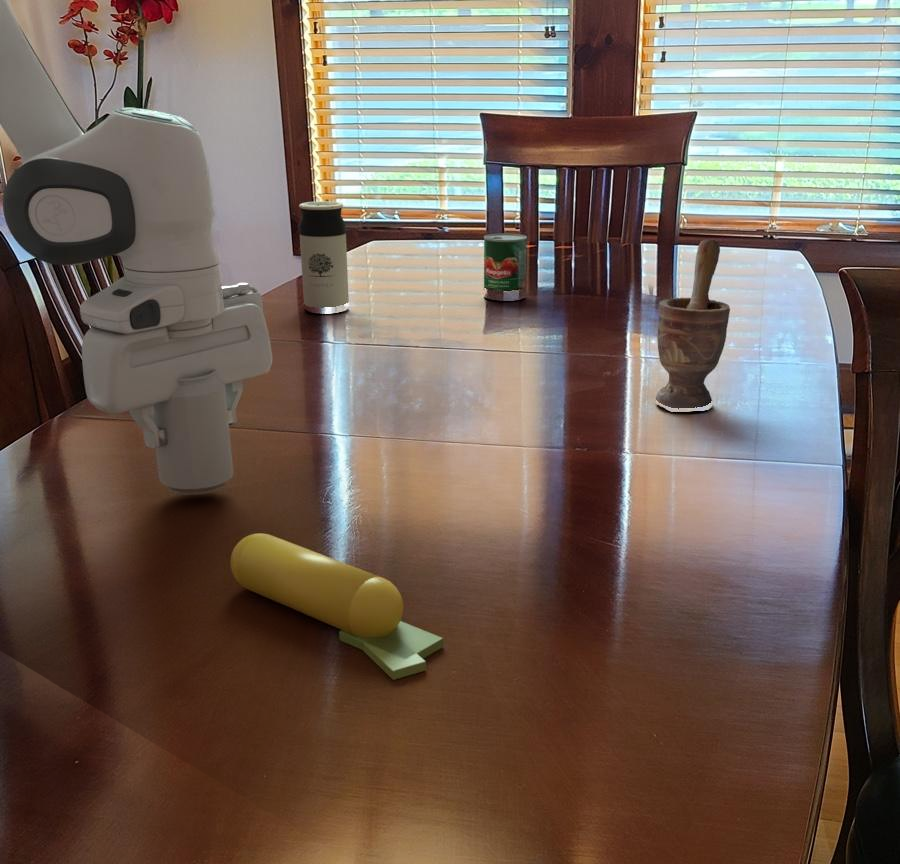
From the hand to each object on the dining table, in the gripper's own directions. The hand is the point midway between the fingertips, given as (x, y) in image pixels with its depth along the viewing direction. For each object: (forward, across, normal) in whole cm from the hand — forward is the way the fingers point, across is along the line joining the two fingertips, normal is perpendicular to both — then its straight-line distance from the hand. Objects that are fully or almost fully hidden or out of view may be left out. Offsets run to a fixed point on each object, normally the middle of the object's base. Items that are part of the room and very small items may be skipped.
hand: (191, 435), depth 109 cm
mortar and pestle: (+7, -62, +22) cm, 66 cm away
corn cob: (+7, +11, +30) cm, 33 cm away
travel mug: (+7, -72, -55) cm, 91 cm away
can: (+6, 0, 0) cm, 6 cm away
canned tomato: (+7, -101, -37) cm, 108 cm away
